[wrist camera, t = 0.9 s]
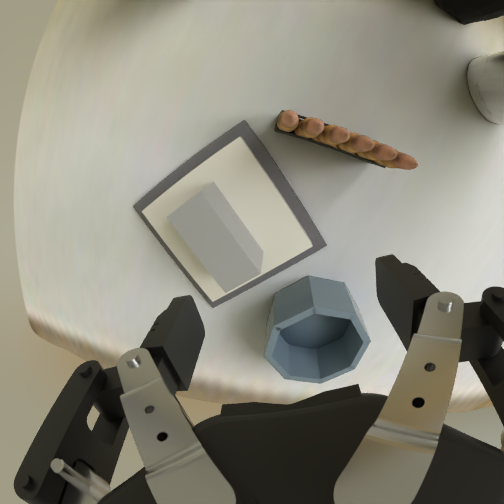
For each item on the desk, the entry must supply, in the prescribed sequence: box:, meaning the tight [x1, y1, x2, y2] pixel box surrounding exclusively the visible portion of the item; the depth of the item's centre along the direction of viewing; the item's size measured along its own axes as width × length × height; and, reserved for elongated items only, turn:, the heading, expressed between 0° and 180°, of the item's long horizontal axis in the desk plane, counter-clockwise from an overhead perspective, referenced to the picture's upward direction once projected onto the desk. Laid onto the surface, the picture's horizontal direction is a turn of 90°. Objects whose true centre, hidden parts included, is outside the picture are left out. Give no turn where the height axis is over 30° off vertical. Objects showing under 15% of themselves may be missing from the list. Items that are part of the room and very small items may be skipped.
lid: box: [142, 137, 313, 302], centre depth 27 cm, size 14×14×6 cm
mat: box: [133, 120, 327, 308], centre depth 30 cm, size 16×16×1 cm
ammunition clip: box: [274, 110, 418, 170], centre depth 21 cm, size 11×2×12 cm, turn 75°
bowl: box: [264, 276, 371, 383], centre depth 32 cm, size 11×11×6 cm
